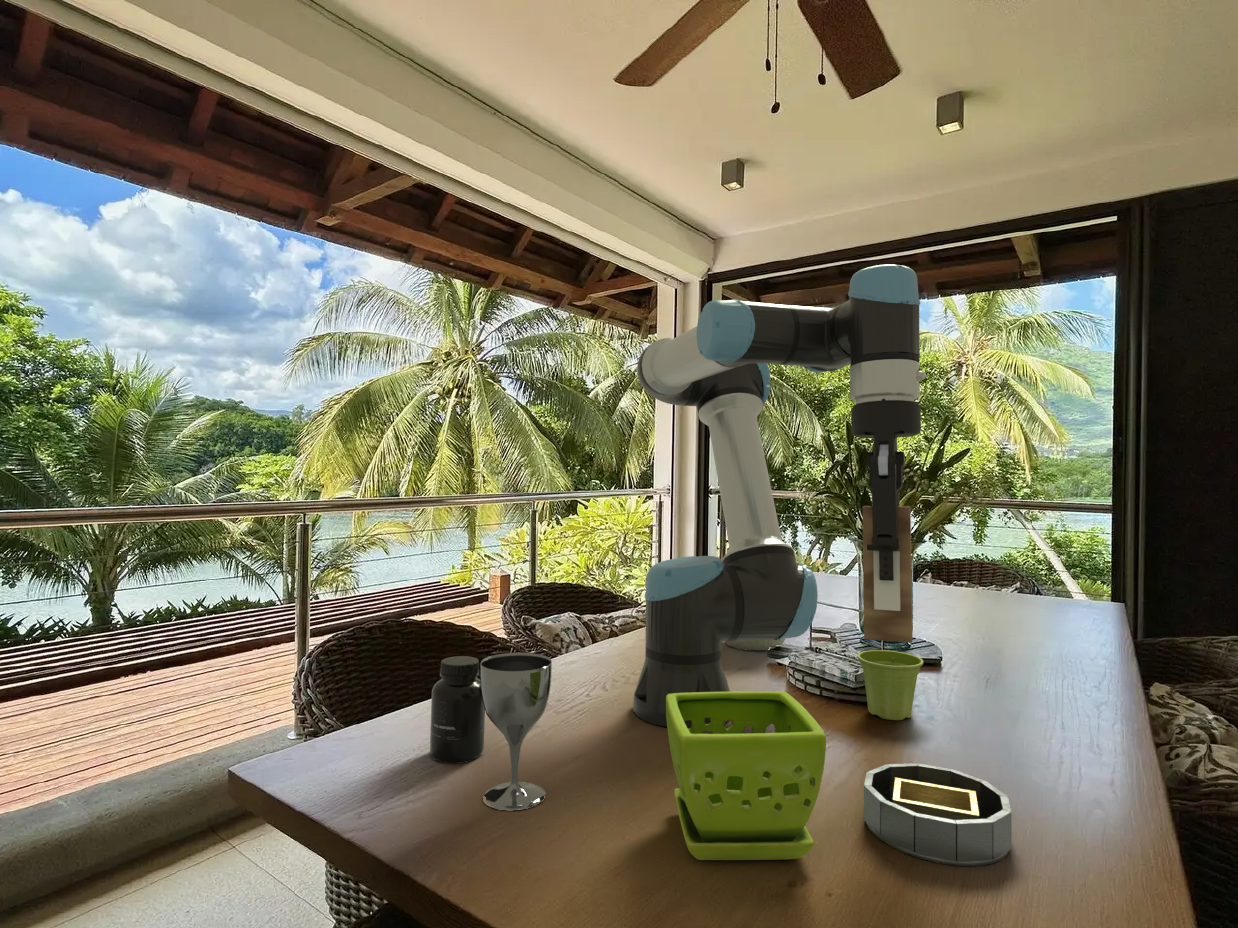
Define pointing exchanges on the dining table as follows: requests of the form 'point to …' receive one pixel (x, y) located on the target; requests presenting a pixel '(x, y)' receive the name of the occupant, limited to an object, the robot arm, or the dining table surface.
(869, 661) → the plant pot
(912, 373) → the robot arm
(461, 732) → the supplement bottle
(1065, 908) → the dining table surface
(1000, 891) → the dining table surface
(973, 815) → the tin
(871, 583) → the wooden slab
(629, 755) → the dining table surface
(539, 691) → the wine glass
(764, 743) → the flower pot
